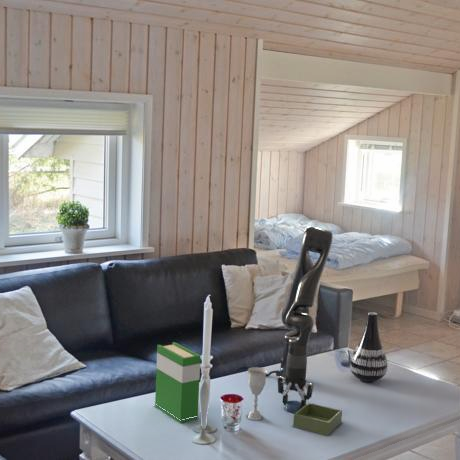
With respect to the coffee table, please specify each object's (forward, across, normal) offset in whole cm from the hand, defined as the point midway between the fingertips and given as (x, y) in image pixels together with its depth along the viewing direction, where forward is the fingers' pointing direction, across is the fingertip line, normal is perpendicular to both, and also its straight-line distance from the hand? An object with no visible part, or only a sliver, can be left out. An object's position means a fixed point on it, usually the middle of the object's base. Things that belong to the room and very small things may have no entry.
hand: (293, 406), depth 297 cm
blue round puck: (+1, 0, 0) cm, 1 cm away
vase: (+1, -13, -48) cm, 50 cm away
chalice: (+1, +9, +15) cm, 18 cm away
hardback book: (+1, +35, +28) cm, 45 cm away
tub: (+1, -13, +8) cm, 15 cm away
